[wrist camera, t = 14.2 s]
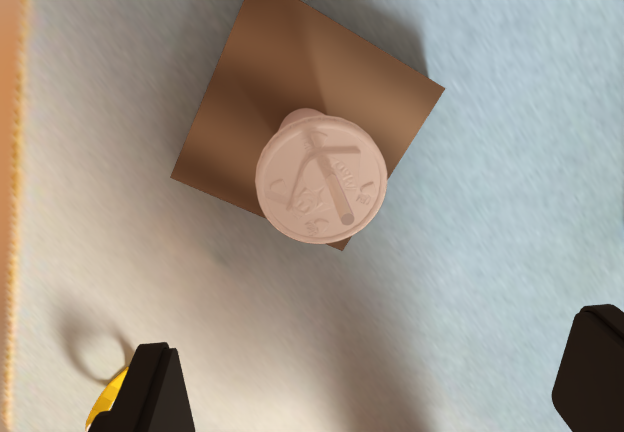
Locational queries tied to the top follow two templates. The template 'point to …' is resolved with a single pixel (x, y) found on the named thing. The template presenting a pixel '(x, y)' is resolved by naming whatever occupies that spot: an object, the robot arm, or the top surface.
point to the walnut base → (295, 96)
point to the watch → (106, 398)
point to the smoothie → (320, 178)
